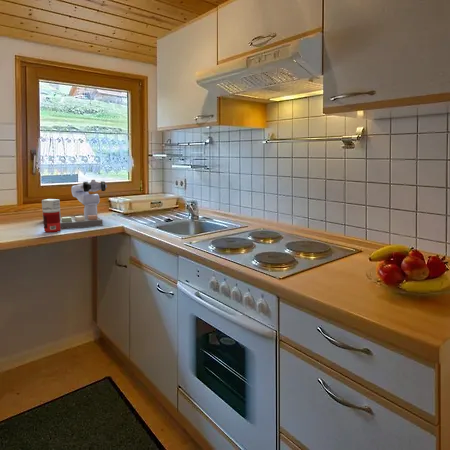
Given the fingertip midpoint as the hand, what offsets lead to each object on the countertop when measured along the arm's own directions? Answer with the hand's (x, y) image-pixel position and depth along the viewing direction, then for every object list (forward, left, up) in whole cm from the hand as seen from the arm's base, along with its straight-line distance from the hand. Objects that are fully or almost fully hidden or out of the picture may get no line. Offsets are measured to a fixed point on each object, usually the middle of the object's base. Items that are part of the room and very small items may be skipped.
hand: (97, 186), depth 221 cm
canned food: (+8, -26, -22) cm, 35 cm away
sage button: (-3, -17, -20) cm, 26 cm away
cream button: (-3, -10, -20) cm, 22 cm away
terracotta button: (-3, -3, -20) cm, 20 cm away
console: (-3, -10, -22) cm, 24 cm away
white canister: (-28, -21, -22) cm, 41 cm away
